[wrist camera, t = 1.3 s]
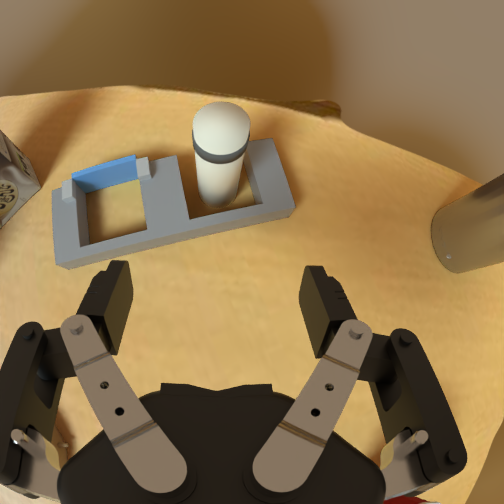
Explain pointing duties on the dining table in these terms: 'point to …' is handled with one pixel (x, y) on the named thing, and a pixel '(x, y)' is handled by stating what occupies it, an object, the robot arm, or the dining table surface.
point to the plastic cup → (407, 500)
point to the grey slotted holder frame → (162, 205)
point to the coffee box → (14, 179)
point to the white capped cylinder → (219, 151)
